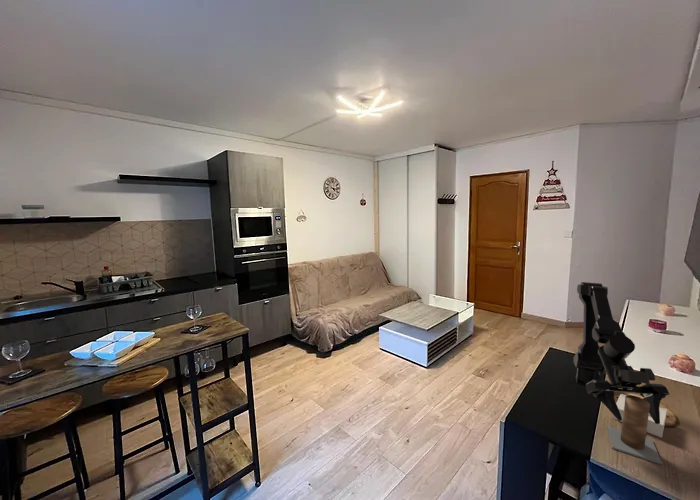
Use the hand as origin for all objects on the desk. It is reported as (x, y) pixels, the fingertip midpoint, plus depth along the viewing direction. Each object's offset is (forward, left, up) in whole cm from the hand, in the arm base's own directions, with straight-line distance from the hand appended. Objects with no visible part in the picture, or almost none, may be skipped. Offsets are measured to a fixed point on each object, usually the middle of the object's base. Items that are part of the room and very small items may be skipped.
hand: (639, 422), depth 84 cm
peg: (-1, +1, -8) cm, 8 cm away
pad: (-1, +1, -8) cm, 8 cm away
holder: (+3, +16, -8) cm, 18 cm away
